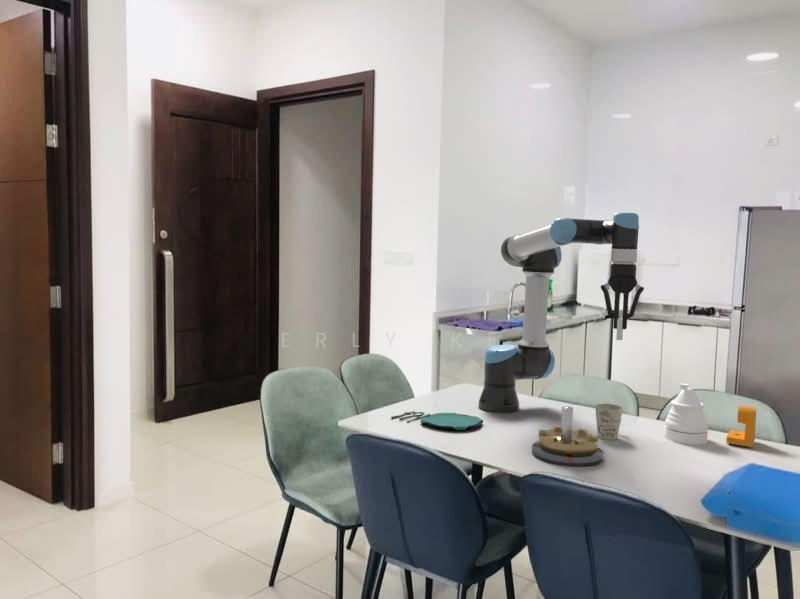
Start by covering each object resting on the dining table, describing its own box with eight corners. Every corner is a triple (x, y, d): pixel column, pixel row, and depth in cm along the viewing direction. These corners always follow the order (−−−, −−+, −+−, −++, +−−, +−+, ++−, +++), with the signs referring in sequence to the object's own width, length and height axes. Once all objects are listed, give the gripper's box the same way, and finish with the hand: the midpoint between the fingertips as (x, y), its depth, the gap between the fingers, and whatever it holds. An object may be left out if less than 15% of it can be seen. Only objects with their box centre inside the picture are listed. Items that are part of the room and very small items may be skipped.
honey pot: (686, 446, 207) (689, 389, 206) (655, 435, 219) (658, 381, 218) (716, 442, 213) (719, 386, 211) (684, 432, 224) (687, 379, 223)
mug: (589, 436, 215) (590, 406, 214) (606, 430, 224) (608, 400, 223) (613, 442, 209) (615, 411, 208) (630, 435, 218) (632, 405, 217)
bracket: (729, 437, 219) (732, 401, 218) (754, 441, 215) (757, 405, 214) (725, 445, 210) (728, 407, 209) (751, 449, 206) (754, 411, 205)
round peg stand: (528, 440, 199) (530, 397, 198) (577, 437, 204) (579, 395, 203) (556, 457, 183) (558, 410, 182) (609, 454, 188) (611, 408, 187)
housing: (523, 459, 189) (524, 451, 188) (541, 441, 207) (541, 434, 207) (596, 471, 180) (597, 463, 180) (607, 452, 198) (608, 444, 198)
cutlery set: (463, 436, 211) (463, 429, 211) (386, 421, 228) (386, 415, 228) (491, 424, 228) (492, 417, 227) (417, 412, 244) (417, 405, 244)
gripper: (647, 264, 206) (642, 340, 207) (603, 262, 211) (599, 336, 213) (644, 264, 199) (640, 342, 201) (599, 262, 205) (595, 339, 206)
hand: (619, 339), depth 207 cm, fingers closed
